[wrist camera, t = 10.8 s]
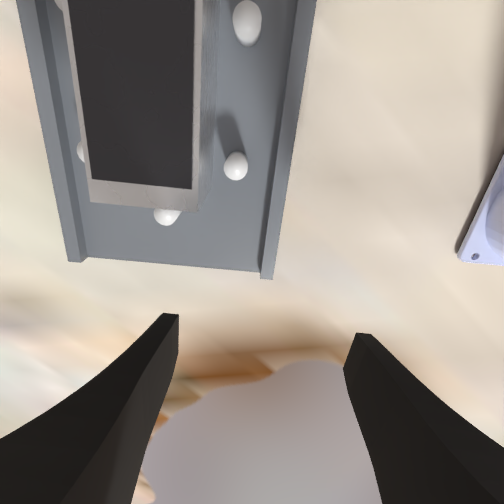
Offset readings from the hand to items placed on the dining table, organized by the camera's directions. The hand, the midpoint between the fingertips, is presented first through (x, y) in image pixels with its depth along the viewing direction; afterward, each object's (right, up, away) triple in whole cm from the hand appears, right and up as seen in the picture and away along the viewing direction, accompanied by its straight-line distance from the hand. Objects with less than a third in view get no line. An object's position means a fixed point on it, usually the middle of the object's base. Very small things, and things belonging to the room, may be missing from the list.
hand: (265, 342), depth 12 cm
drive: (-5, +12, +3) cm, 13 cm away
